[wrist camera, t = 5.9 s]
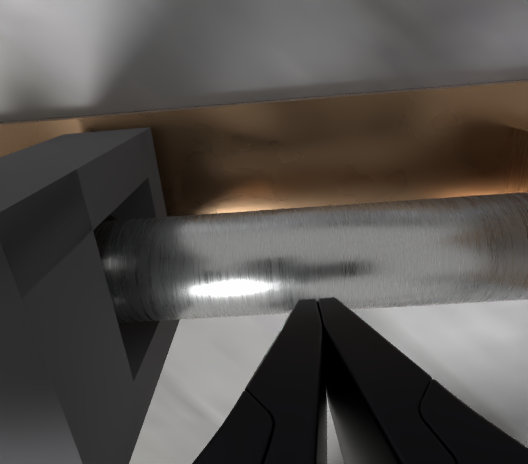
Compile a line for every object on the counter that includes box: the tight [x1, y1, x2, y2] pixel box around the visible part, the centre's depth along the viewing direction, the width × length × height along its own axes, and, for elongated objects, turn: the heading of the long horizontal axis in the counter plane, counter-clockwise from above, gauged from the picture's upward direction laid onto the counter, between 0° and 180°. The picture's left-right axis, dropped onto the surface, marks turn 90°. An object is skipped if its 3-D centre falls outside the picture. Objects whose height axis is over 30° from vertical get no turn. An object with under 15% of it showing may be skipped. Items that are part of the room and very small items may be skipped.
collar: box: [0, 127, 180, 464], centre depth 11 cm, size 3×7×8 cm, turn 4°
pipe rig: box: [0, 80, 528, 325], centre depth 13 cm, size 22×8×7 cm, turn 95°
